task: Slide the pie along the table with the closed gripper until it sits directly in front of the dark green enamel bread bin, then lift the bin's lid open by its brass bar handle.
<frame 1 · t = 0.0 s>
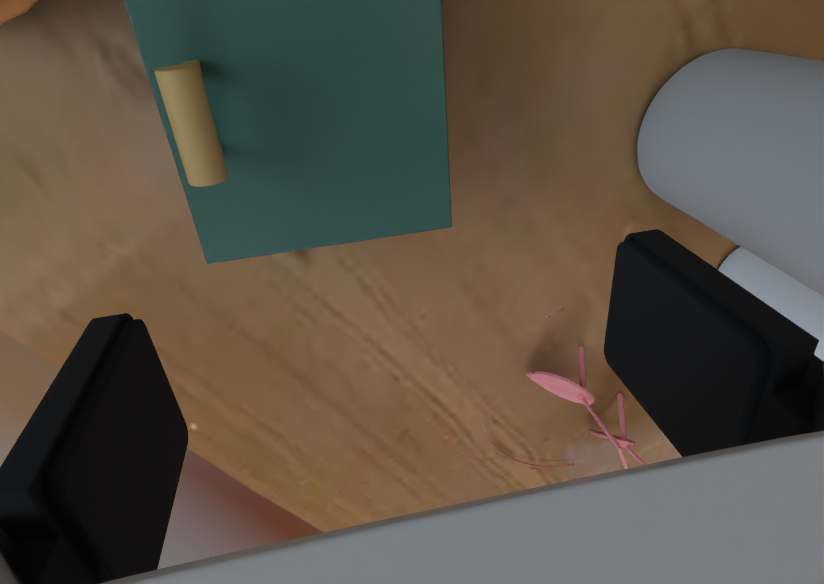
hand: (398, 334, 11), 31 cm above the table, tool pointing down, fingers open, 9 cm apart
bread bin lid: (307, 105, 26), point 13 cm above the table, hinge at 0.0°
figurine: (547, 405, 57), on the table
cylinder vase: (701, 128, 44), on the table
milk bottle: (745, 271, 53), on the table
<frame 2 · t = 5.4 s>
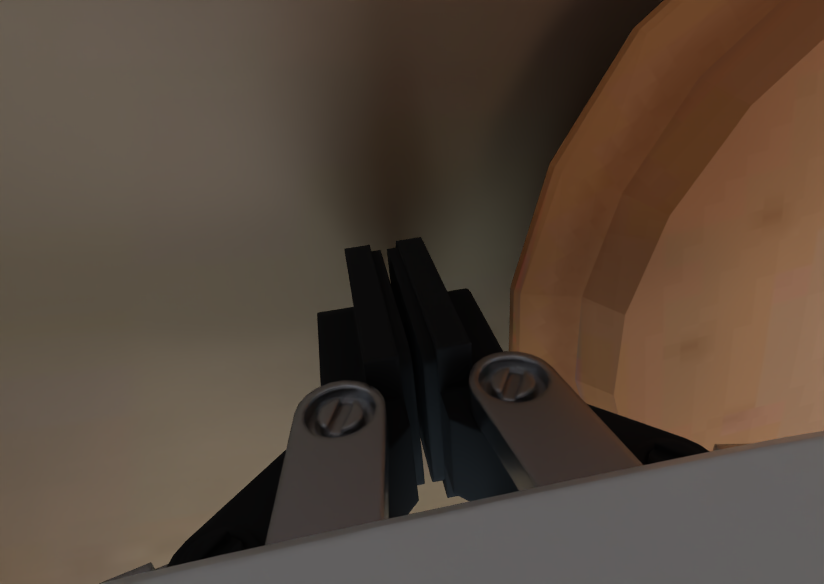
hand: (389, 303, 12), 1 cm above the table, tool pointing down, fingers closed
pie: (747, 205, 14), on the table, touching gripper
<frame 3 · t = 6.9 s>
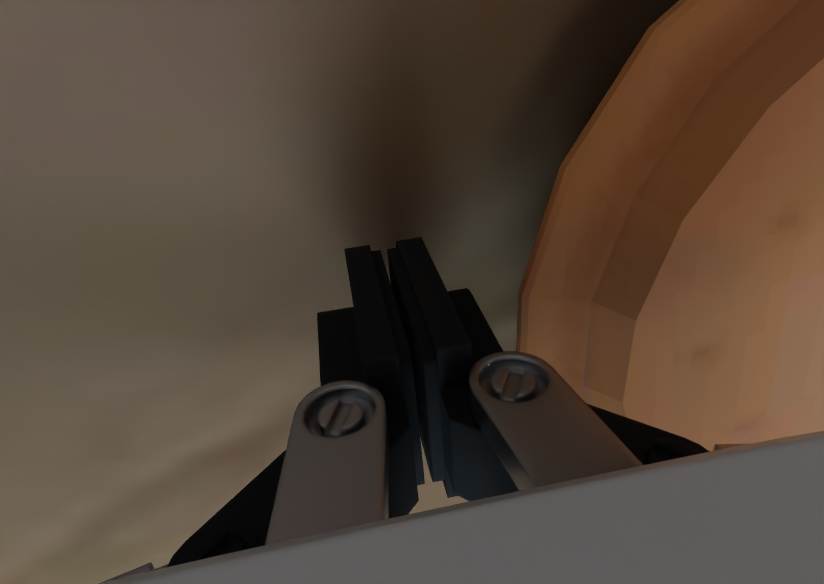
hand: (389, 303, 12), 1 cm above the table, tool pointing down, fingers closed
pie: (757, 210, 14), on the table, touching gripper
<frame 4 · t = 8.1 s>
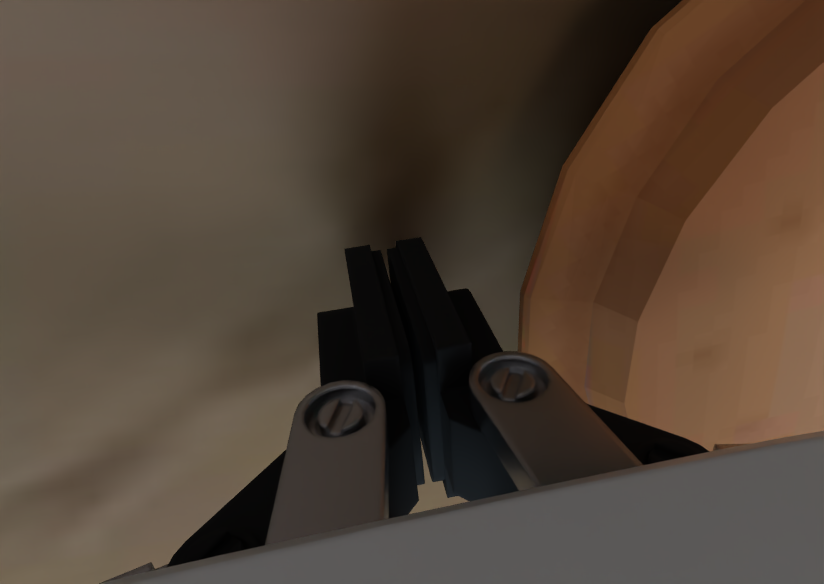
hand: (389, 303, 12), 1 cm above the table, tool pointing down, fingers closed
pie: (759, 211, 14), on the table, touching gripper
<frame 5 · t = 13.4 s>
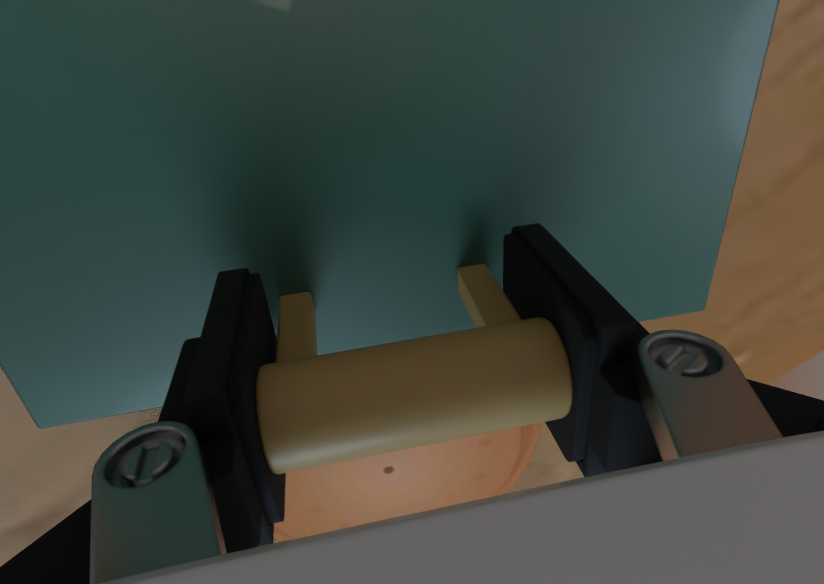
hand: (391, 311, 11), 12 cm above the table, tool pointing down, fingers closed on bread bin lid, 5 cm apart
bread bin lid: (366, 59, 8), point 13 cm above the table, hinge at 0.0°, touching gripper
pie: (375, 392, 28), on the table
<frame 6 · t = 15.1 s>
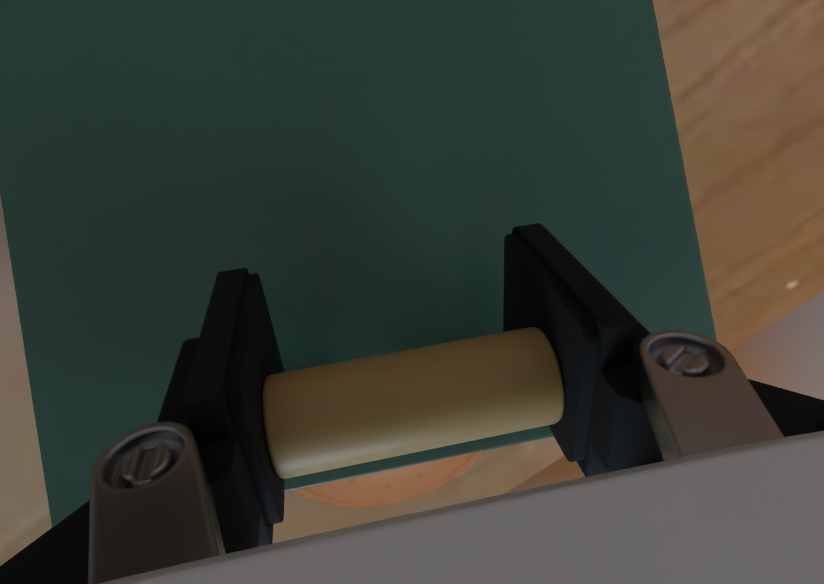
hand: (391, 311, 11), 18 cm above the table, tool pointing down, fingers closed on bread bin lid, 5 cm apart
bread bin lid: (364, 151, 11), point 16 cm above the table, hinge at 32.8°, touching gripper
pie: (374, 380, 36), on the table
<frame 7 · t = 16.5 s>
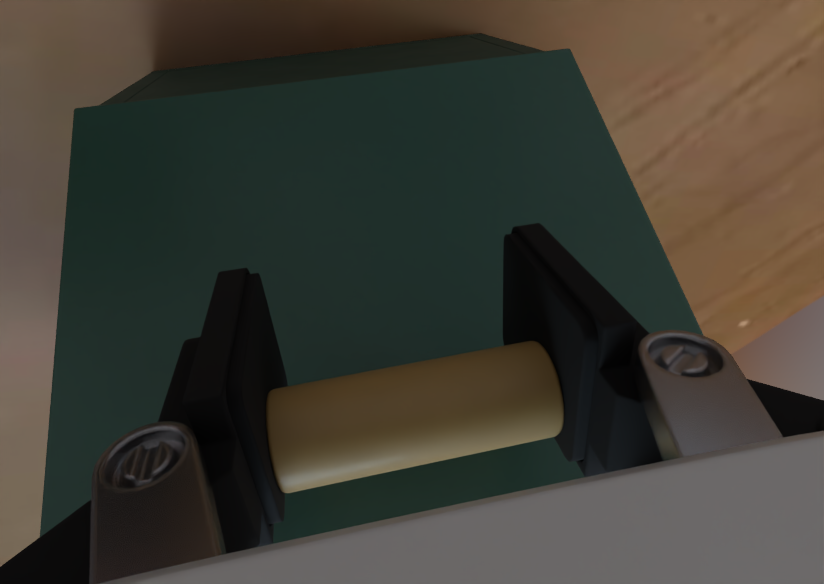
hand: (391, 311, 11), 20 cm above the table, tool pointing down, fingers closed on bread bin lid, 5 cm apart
bread bin lid: (370, 228, 13), point 18 cm above the table, hinge at 55.9°, touching gripper
bread bin: (343, 181, 31), on the table
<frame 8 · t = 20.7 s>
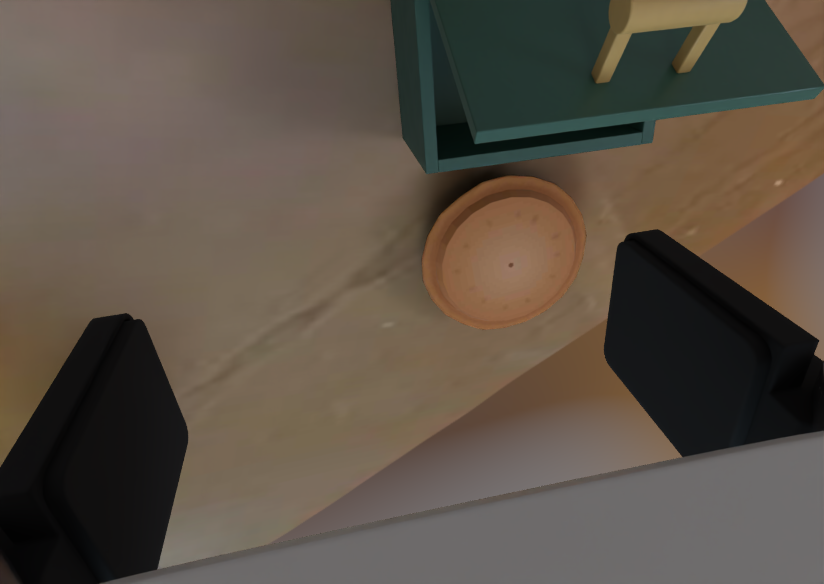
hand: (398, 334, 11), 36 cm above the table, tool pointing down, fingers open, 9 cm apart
pie: (493, 240, 52), on the table
bread bin: (498, 38, 43), on the table
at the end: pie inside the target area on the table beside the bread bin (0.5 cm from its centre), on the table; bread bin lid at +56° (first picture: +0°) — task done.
